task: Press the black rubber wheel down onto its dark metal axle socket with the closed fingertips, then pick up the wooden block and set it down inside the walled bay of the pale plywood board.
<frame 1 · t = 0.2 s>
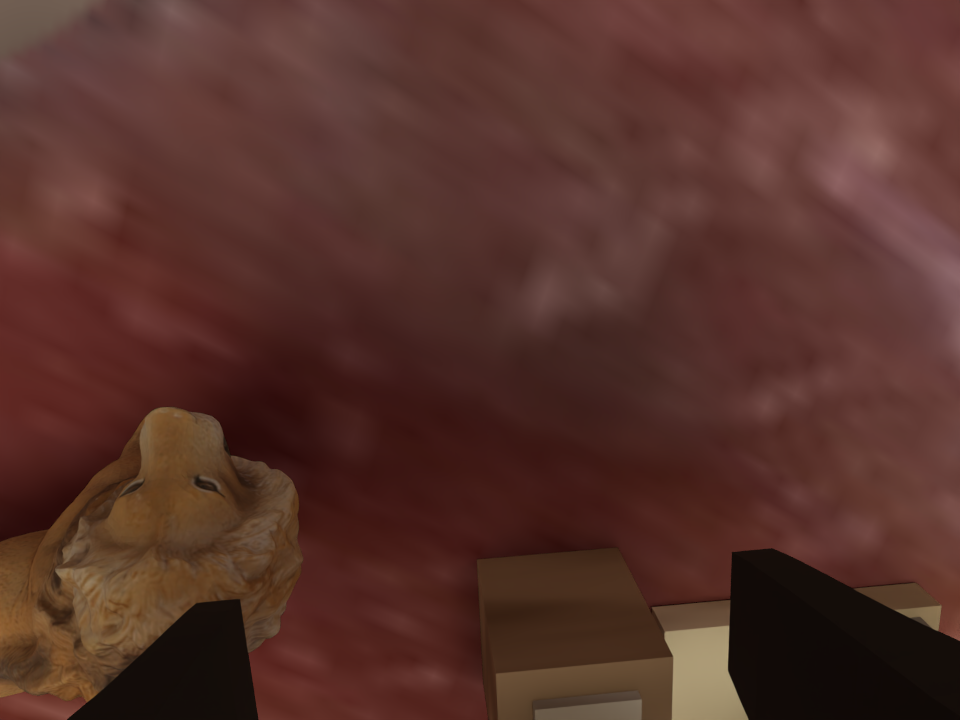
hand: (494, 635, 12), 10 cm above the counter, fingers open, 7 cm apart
wooden block: (549, 614, 23), on the counter
lion figurine: (84, 487, 21), on the counter
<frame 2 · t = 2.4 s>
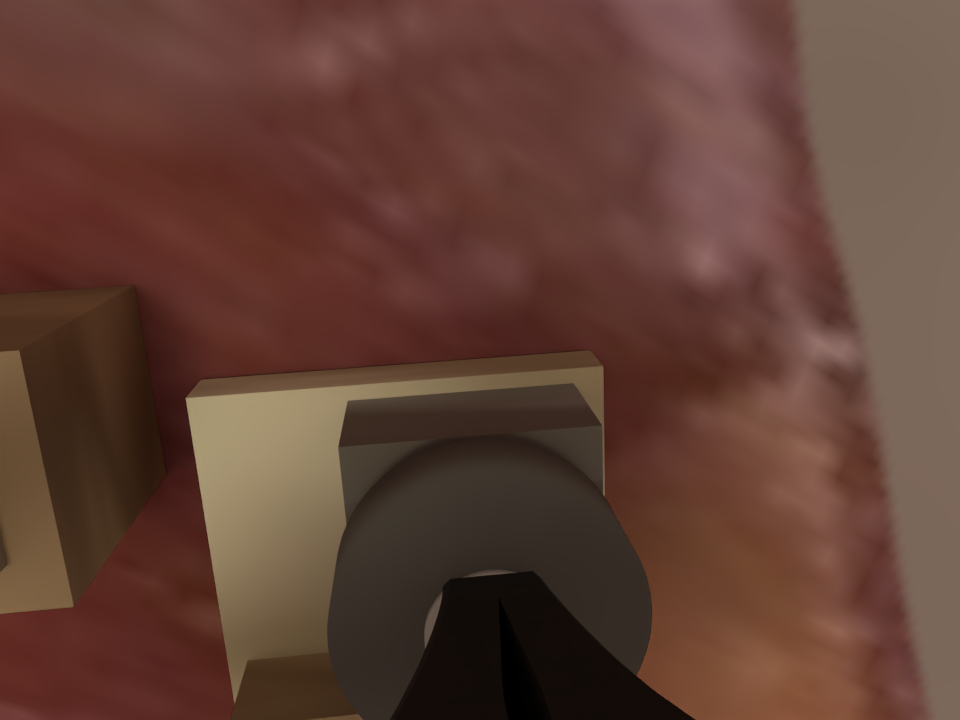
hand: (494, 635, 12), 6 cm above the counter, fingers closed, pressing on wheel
wooden block: (49, 389, 16), on the counter
chassis board: (421, 638, 19), on the counter
wheel: (481, 567, 14), point 4 cm above the counter, slide at 1.0 cm, touching gripper
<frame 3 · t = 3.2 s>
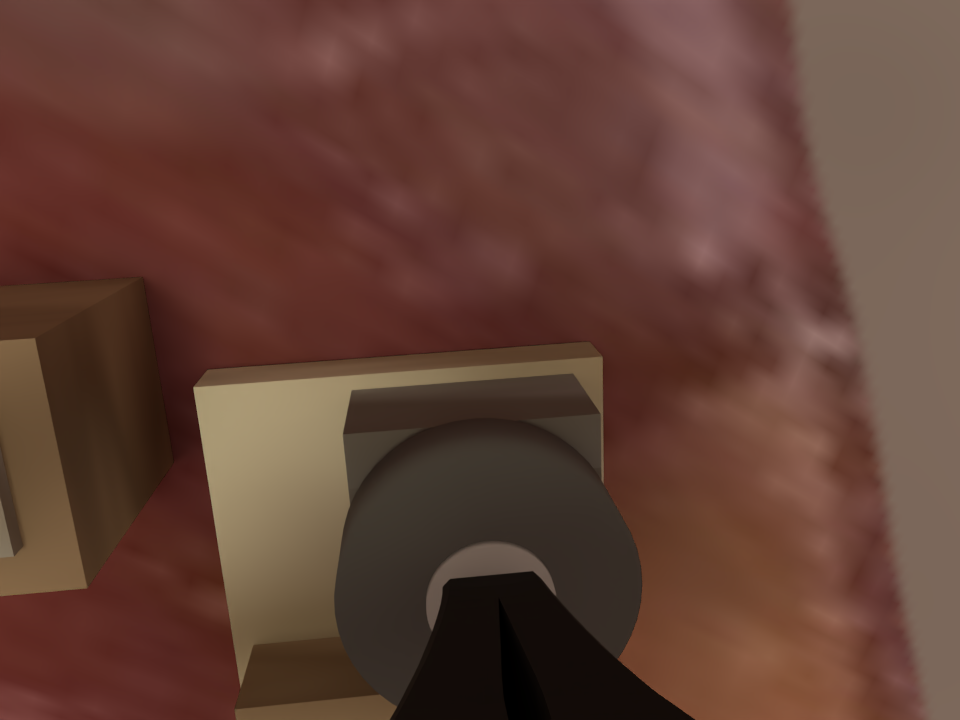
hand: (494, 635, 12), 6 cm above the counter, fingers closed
wooden block: (59, 379, 17), on the counter
chassis board: (423, 624, 19), on the counter
wheel: (480, 542, 14), point 4 cm above the counter, slide at 1.3 cm
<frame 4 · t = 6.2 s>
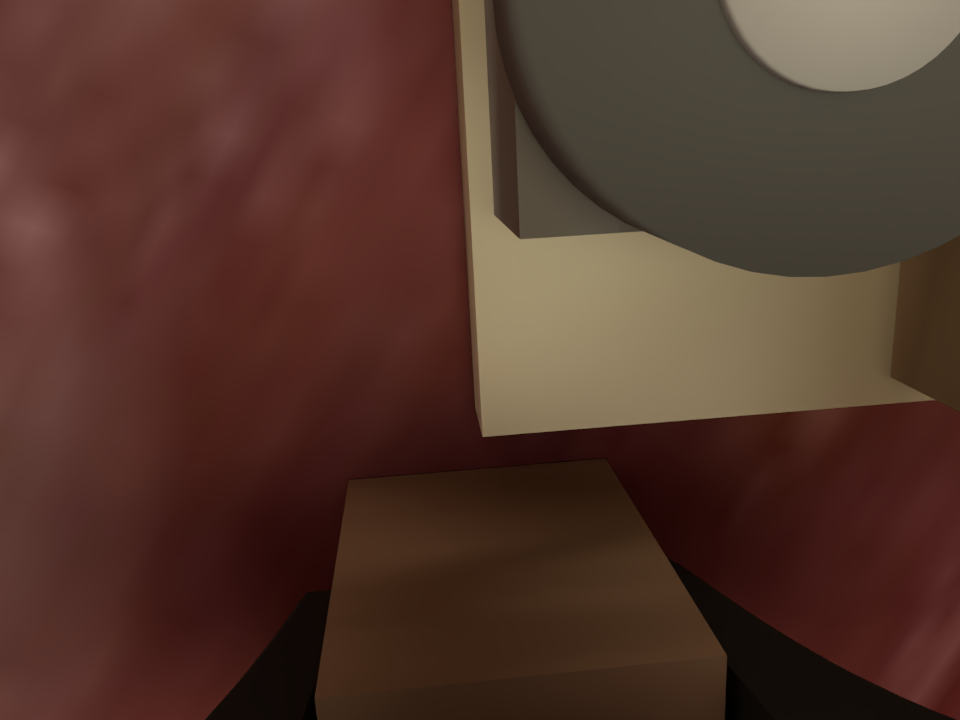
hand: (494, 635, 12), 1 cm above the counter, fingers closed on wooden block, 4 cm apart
wooden block: (485, 583, 13), on the counter, touching gripper
chassis board: (910, 109, 12), on the counter
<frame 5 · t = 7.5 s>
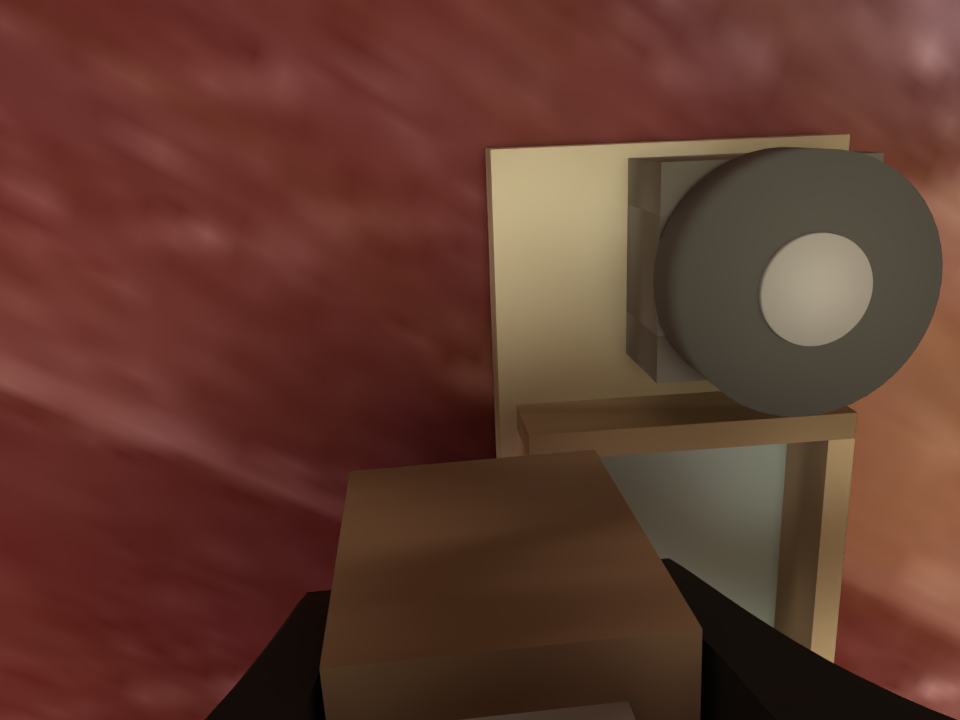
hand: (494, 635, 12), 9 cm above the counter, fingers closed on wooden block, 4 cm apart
wooden block: (480, 569, 14), point 7 cm above the counter, touching gripper
chassis board: (651, 406, 21), on the counter
wheel: (768, 271, 16), point 4 cm above the counter, slide at 1.3 cm
when the fingers open (4 cm above the counter, at t = 9.2 s): wooden block stays where it is, resting on chassis board.
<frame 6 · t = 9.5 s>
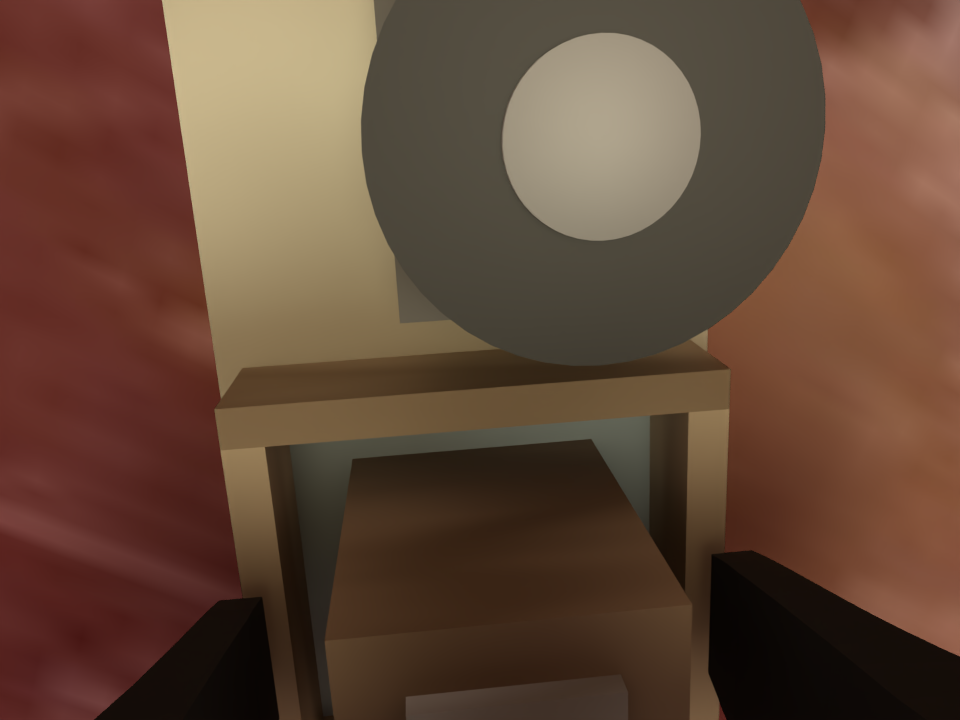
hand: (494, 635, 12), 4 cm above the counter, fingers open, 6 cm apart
wooden block: (479, 555, 14), point 1 cm above the counter, touching chassis board
chassis board: (464, 371, 15), on the counter
wheel: (564, 138, 10), point 4 cm above the counter, slide at 1.3 cm
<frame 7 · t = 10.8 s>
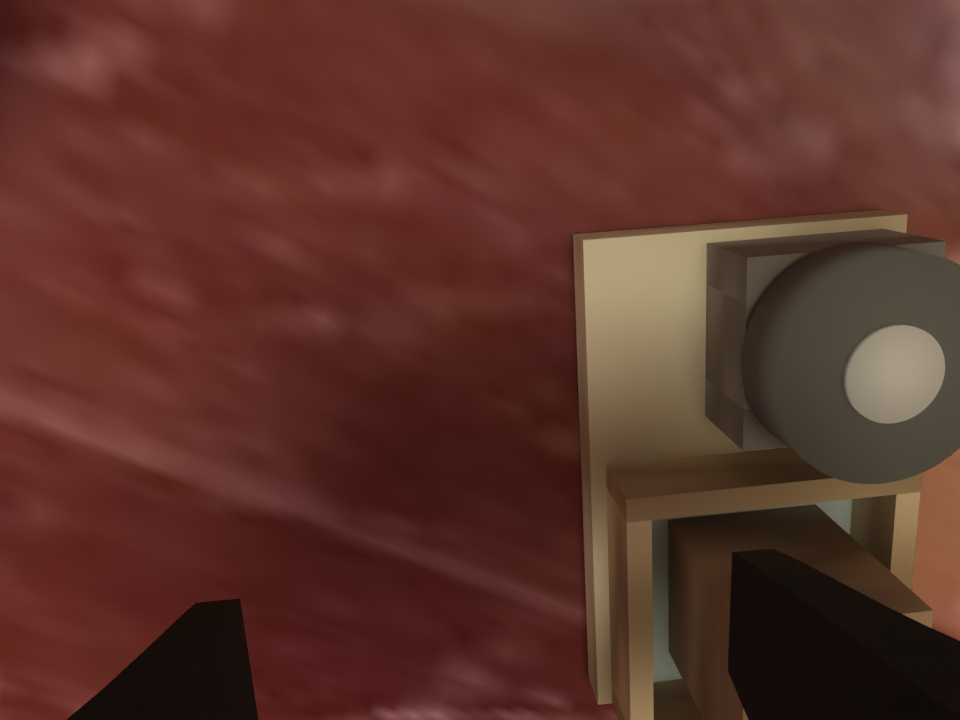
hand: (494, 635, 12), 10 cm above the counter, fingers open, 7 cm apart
wooden block: (740, 579, 22), point 1 cm above the counter, touching chassis board
chassis board: (724, 459, 22), on the counter
wheel: (843, 349, 18), point 4 cm above the counter, slide at 1.3 cm
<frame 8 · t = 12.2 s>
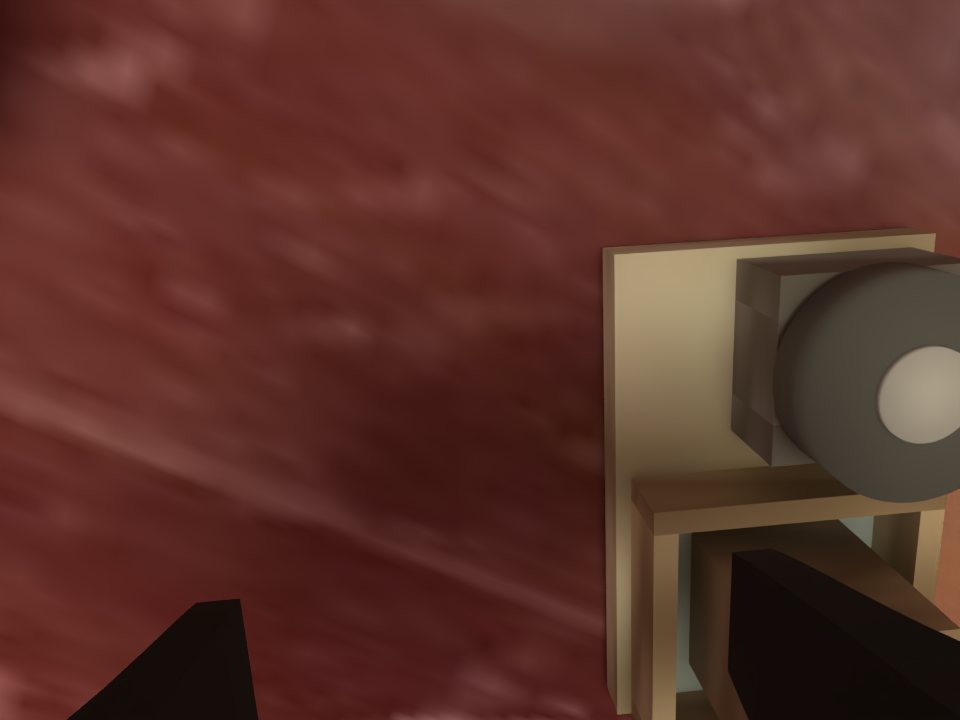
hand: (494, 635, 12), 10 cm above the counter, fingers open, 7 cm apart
wooden block: (761, 592, 22), point 1 cm above the counter, touching chassis board
chassis board: (747, 472, 23), on the counter
wheel: (873, 368, 18), point 4 cm above the counter, slide at 1.3 cm
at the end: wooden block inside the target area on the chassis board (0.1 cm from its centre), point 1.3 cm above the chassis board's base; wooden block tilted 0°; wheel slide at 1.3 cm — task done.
